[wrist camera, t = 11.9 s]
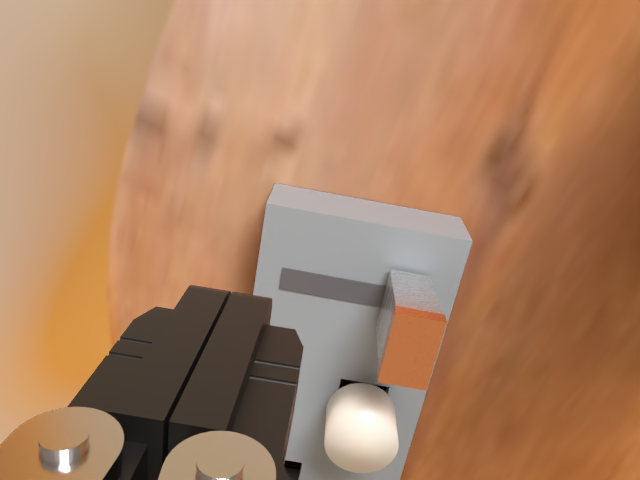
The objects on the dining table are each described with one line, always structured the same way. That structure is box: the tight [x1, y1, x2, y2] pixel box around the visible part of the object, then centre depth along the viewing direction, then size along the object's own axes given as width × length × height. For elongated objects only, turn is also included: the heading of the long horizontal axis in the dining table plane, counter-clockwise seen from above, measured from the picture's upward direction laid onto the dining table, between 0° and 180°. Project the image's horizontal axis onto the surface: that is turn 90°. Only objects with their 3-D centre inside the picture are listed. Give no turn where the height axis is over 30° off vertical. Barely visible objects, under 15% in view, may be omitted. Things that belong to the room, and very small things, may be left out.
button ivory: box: [324, 380, 399, 473], centre depth 36 cm, size 4×4×6 cm
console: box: [253, 183, 473, 480], centre depth 39 cm, size 12×24×4 cm, turn 170°
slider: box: [376, 269, 447, 391], centre depth 31 cm, size 3×4×5 cm, turn 170°
